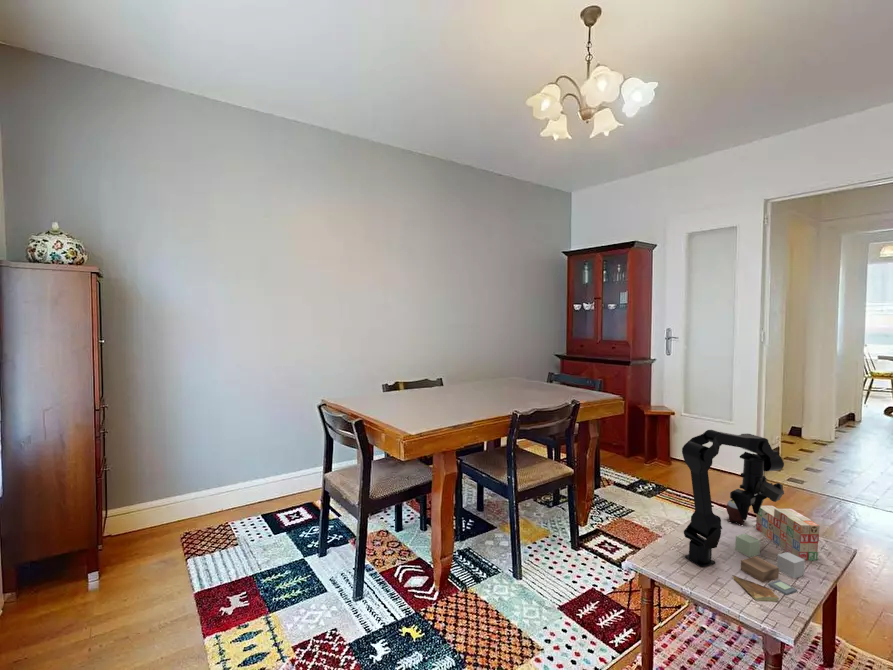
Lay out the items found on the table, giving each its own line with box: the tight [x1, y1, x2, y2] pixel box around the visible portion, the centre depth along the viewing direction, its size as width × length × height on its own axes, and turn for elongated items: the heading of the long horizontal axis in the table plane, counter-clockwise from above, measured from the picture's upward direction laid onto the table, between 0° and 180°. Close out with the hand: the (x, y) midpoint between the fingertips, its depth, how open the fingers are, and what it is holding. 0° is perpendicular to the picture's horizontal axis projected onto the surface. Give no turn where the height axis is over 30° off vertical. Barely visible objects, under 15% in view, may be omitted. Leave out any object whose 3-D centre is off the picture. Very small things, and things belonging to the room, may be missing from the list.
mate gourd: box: [726, 499, 746, 526], centre depth 173 cm, size 8×8×15 cm
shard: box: [732, 574, 779, 602], centre depth 131 cm, size 11×8×2 cm
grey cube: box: [776, 551, 806, 579], centre depth 140 cm, size 5×5×5 cm
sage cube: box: [734, 533, 761, 558], centre depth 152 cm, size 5×5×5 cm
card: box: [768, 579, 798, 596], centre depth 132 cm, size 5×5×1 cm
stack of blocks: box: [755, 505, 820, 561], centre depth 157 cm, size 21×6×12 cm, turn 179°
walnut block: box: [740, 555, 780, 583], centre depth 139 cm, size 7×7×4 cm
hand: (750, 516), depth 152 cm, fingers open, 9 cm apart
